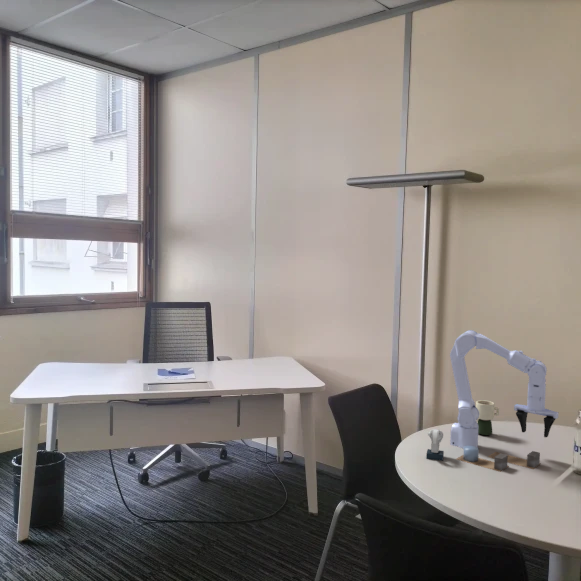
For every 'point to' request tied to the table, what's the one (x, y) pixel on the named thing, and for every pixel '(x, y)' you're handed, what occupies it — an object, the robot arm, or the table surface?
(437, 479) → the table surface
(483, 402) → the character mug
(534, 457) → the strip empty
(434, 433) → the white figurine on base
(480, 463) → the strip
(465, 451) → the blue-grey rounded block
